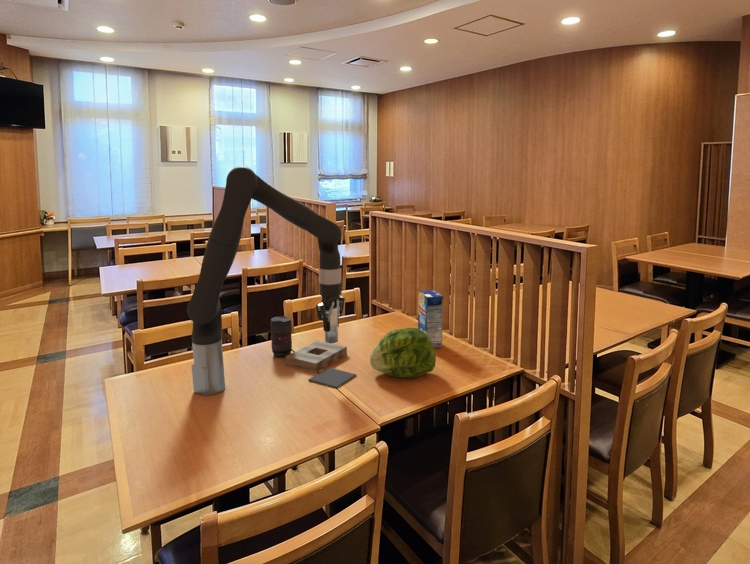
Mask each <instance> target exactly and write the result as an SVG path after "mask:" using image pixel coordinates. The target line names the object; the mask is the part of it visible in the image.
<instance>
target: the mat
mask: <svg viewBox="0 0 750 564" xmlns="http://www.w3.org/2000/svg"><path fill="white" fill-rule="evenodd" d="M355 377H357V374H356V373H352V372H348V371H345V370H341V369H337V368H332V367H327V368H324V369H322V370H321V371H320V372H319V373H318V372H317V373H316V374H315V375H313V376H311V377H309V378H308V381H309V382H312V383H316V384H320V385H322V384H323V386H326V385H327V386H326V387H331V388H334V389H338V388H339V386H340V385H341V386H343V385H345V383H348V382H349V381H351V380H352V379H354V378H355ZM341 386H340V387H341Z"/></svg>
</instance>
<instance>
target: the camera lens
mask: <svg viewBox="0 0 750 564" xmlns="http://www.w3.org/2000/svg"><path fill="white" fill-rule="evenodd" d="M292 331H293V330H292V319H291V317H289V316H282V315H281V316H274V317H272V318H271V319H270V333H271V336H270V341H271V350H272V351H271V352H272V353H273V357H274V358H276V357H277V358H278V359H286V356H287V355H289V354H292V351H293V350H292V349H293V348H292V347H293V341H292Z"/></svg>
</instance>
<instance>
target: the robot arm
mask: <svg viewBox="0 0 750 564" xmlns="http://www.w3.org/2000/svg"><path fill="white" fill-rule="evenodd" d="M252 200H254V201H256V202H259V203H261V205H264V206H266V207H267V208H269V209H270V210H272V211H273V212H274V213H276V214H277V215H278V216H280V217H281V218H283V219H285V220H286V221H288V222H289V223H291V224H293V225H294V226H296V227H298V228H300V229H302V230H304V231H306V232H308V233H309V234H311V235H313V236H314V237H315V238H317V244H318V250H319V254H318V255H319V257H318V259H319V260H318V261H319V264H318V266H319V267H318V268H319V271H318V287H319V288H318V291H319V295H320V296H321V303H319V304H316V305H315V308H316V312H317V316H318V320H319V321H322V324H323V325H322V327H323V328H322V329H323V331H324V333H325V332H329V331H330V316H331V315H332V309H333V308H335V307H337V313H338V328H339V327H340V326H339V325H340V319H339V318H340V316H341V315H342V314H343V313H344V307H345V299H346V298H345V297H343V296H341V295H342V292H343V291H342V288H343V287H342V270H341V254H340V251H339V241H340V240H341V238H342V230H341V227H340V226H339V225H338V224H337V223H335V222H333V220H332V221H331V220H329V219H328V218H326V217H324V216H322V215H320V214H318V213H317V212H316V211H314V210H313V209H311V208H310V207H308V206H307V205H304V204H303V203H301V202H300V201H298V200H296V199H294V198H293V197H290V196H289V195H287V194H285V193H283V192H282V191H280V190H277V189H276V188H274V187H273V186H271V185H270V184H268V183H267V182H266V181H264V179H262V178H261V177H260V176H259V175H257V174H256V173H255V171H254V170H253V169H251V167H248V166H245V165H238V166H236V167H233V168H232V169H231V170H229V172H228V173H227V176H226V180H225V189H224V194H223V199H222V203H221V207H220V210H219V213H218V214H217V215H216V219H215V221H214V223H213V226H212V228H211V229H210V230H211V231H210V233H209V236H208V239H207V243H206V247H205V249H204V255H203V257H202V263H201V266H200V271H199V277H198V281H197V284H196V285H195V288H194V290H193V292H192V294H191V298H190V300H189V302H188V303H187V307H186V312H187V316H188V317H189V320H190V321H191V322H192V330H191V342H192V343H191V344H192V356H193V364H192V365H191V374H192V375H191V376H192V385H193V392H194V393H196V394H199V395H201V396H205V397H207V396H211V395H215V394H218V393H221V392H222V391H224V390H225V388H226V379H225V377H226V376H225V368H224V367H225V365H224V364H225V363H224V354H223V350H224V349H223V338H222V333H223V321H222V317H223V315H222V304H221V300H220V295H221V291H222V287H223V285H224V282H225V280H226V278H227V276H228V274H229V272H230V270H231V269H232V266H233V264H234V261H235V259H236V255H237V253H238V249H239V246H240V242H241V237H242V233H243V226H244V220H245V217H246V213H247V211H248V208H249V206H250V203H251V201H252ZM325 310H328V311H329V312H325ZM326 314H327V318H326Z"/></svg>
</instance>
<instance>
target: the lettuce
mask: <svg viewBox="0 0 750 564" xmlns="http://www.w3.org/2000/svg"><path fill="white" fill-rule="evenodd" d="M435 350H436V349H434V346H433V343H432V341H431V339H430V337H429V335H427V334H426V333H425V332H424V331H422V330H419V329H418V327H405V328H398V329H393V330H390V331H388V333H386V334H385V335H384V336H382V337H381V339H379V341H378V343H377V344H376V345H375V346H374V348H373V349H372V351H371V352H370V355H369V365H370V366H371V368H372V369H373V370H375V371H377V372H380V373H383V374H386V375H388V376H392V377H394V378H395V377H396V378H408V379H409V378H411V379H413V378H416V377H421V376H422V375H425V374H427V373H431V372H433V370H434V369H435V367H436V363H437V362H436V360H437V358H436V351H435Z"/></svg>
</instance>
